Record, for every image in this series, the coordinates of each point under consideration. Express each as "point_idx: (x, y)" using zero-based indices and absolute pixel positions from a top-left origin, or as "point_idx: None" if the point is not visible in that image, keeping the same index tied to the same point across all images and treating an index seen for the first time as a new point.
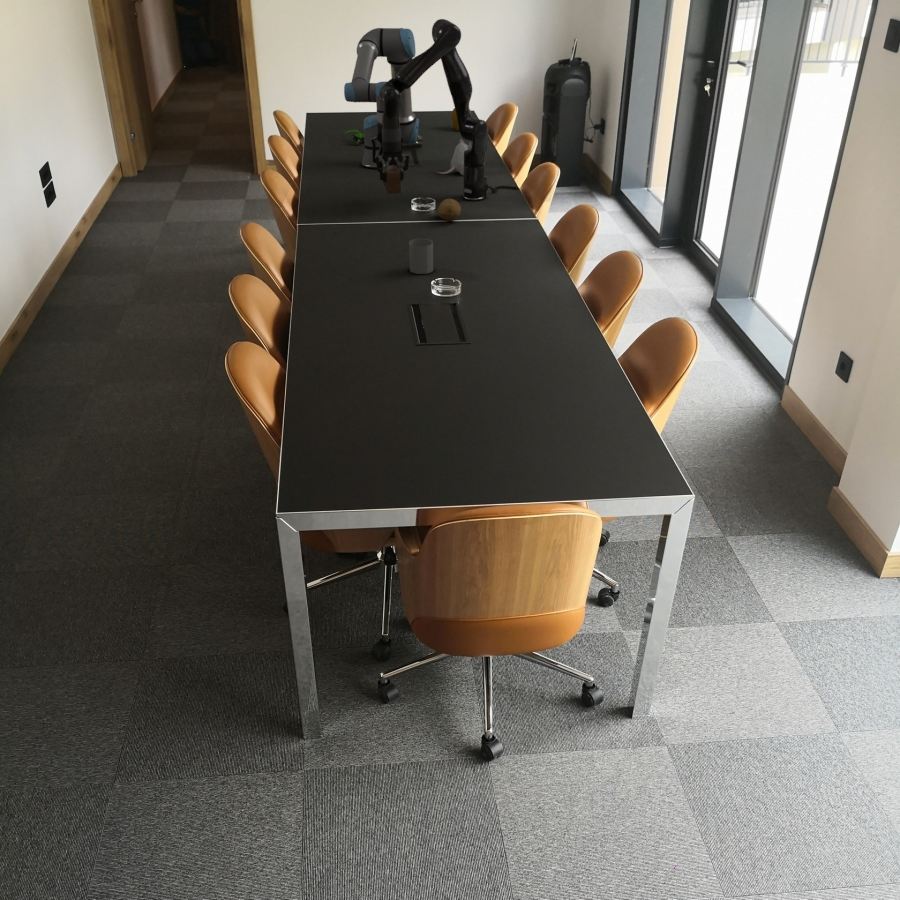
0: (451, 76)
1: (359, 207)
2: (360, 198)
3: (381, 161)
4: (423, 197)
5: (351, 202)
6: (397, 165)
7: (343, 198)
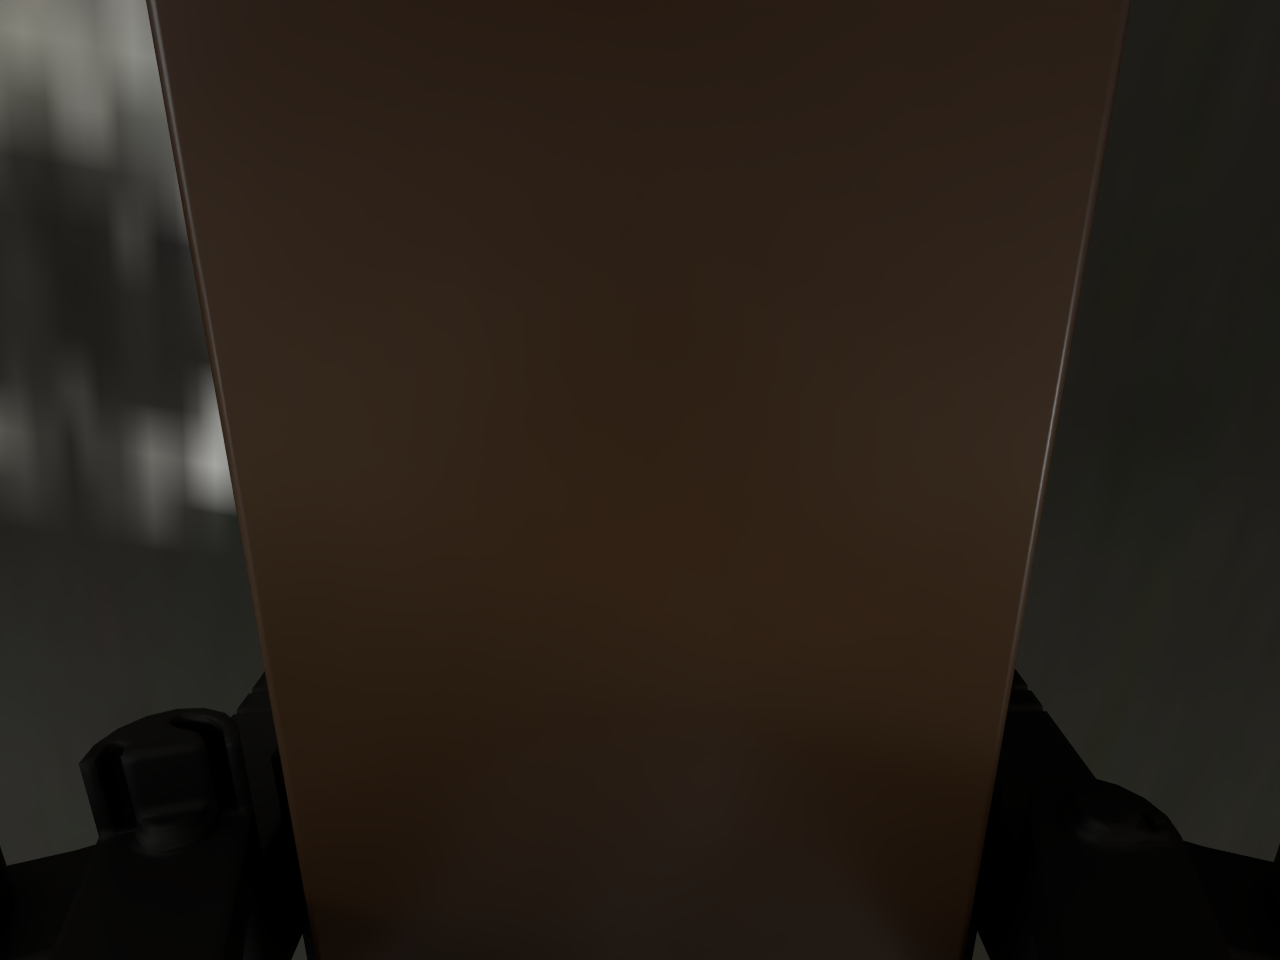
0: None
1: (1190, 153)
2: (1036, 615)
3: (959, 916)
4: (91, 506)
5: (1225, 451)
6: (248, 753)
7: (1270, 654)
